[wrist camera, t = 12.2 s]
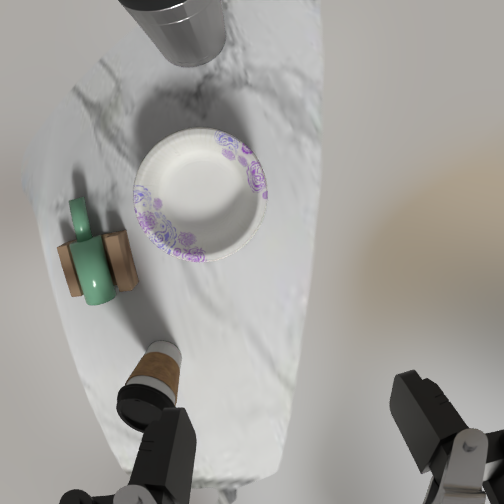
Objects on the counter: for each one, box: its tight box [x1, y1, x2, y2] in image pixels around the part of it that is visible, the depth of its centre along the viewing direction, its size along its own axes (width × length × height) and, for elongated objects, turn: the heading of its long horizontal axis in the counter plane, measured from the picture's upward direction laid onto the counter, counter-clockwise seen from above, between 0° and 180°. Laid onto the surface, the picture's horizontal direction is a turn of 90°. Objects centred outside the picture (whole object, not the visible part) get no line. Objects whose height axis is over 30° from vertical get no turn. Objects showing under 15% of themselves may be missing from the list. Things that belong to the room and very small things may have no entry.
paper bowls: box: [133, 127, 268, 262], centre depth 35 cm, size 15×15×8 cm
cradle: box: [57, 230, 139, 297], centre depth 40 cm, size 8×11×3 cm
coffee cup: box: [116, 341, 182, 433], centre depth 39 cm, size 8×8×15 cm
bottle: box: [69, 197, 116, 305], centre depth 38 cm, size 5×5×15 cm
